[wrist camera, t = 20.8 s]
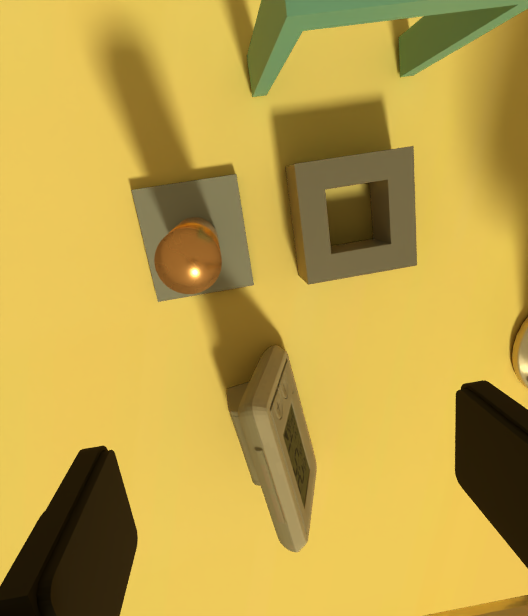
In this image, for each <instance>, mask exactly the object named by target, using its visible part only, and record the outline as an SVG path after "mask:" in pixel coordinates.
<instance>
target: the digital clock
mask: <svg viewBox="0 0 528 616" xmlns="http://www.w3.org/2000/svg"><path fill="white" fill-rule="evenodd" d="M227 401H228V409H229V412H230V415H231V418H232V421H233V424H234V427H235V430H236V433H237V436H238V439H239V442H240V445H241V448H242V451H243V454H244V457H245V460H246V463H247V466H248V469H249V472H250V475H251V478H252V481H253V483H254V484H255V485H259V486H261V488H262V491H263V494H264V497H265V500H266V503H267V506H268V509H269V512H270V515H271V518H272V521H273V524H274V527H275V530H276V533H277V536H278V539H279V541H280V543H281V544H282V545H283V546H284V547H285V548H287V549H288V550H290V551H292V552H299V551H300V550H301V549H302V548H303V547H304V546H305V544H306V543H307V541H308V535H309V528H310V520H311V511H312V503H313V495H314V487H315V478H316V459H315V455H314V451H313V447H312V444H311V440H310V436H309V432H308V429H307V425H306V421H305V417H304V414H303V410H302V406H301V402H300V398H299V395H298V391H297V387H296V383H295V380H294V376H293V372H292V368H291V365H290V361H289V357H288V354H287V352H286V351H285V350H284V349H282V348H280V347H279V346H277V345H274V346H271V347H269V348H268V349H267V350H266V351H265V352H264V353H263V354H262V356H261V358H260V360H259V362H258V364H257V367H256V369H255V371H254V373H253V375H252V377H251V380H250V382H247V383H244V384H241V385H237V386H234V387H231V388H228V389H227Z"/></svg>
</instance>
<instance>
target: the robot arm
mask: <svg viewBox="0 0 528 616" xmlns="http://www.w3.org/2000/svg"><path fill="white" fill-rule="evenodd" d="M512 360H513V367H514V371H515V374H516V375H517V377H518V379H519V381H520V382H521V383H522V384H523V385H524V386H525V387H527V388H528V317H527V318H526V320H525V321H524V323H523V324H522V326H521V328H520V330H519V331H518V333H517V336H516V339H515V342H514V346H513V353H512ZM455 474H456V478H457V480H458V482H459V484H460V486H461V487H462V488H463V490H464V491H465V492H466V493H467V494H468V496H469V497H470V498H471V499H472V501H473V502H474V503H475V504H476V505H477V507H478V508H479V509H480V510H481V512H482V513H483V514H484V515H485V517H486V518H487V519H488V520H489V521H490V523H491V524H492V525H493V526H494V528H495V529H496V530H497V531H498V532H499V534H500V535H501V536H502V537H503V539H504V540H505V541H506V542H507V543H508V545H509V546H510V547H511V548H512V550H513V551H514V552H515V553H516V555H517V556H518V557H519V558H520V559H521V561H522V562H523V563H524V564H525V566H526V567H527V568H528V410H527V409H526V408H525V407H523V406H522V405H520V404H519V403H518V402H516V401H515V400H513V399H512V398H510V397H509V396H508V395H506V394H505V393H503V392H502V391H500V390H499V389H498V388H496V387H495V386H493V385H492V384H490V383H489V382H487V381H477V382H472V383H466V384H463V385H462V387H461V390H458V391H457V393H456V432H455ZM136 548H137V529H136V526H135V522H134V519H133V515H132V512H131V508H130V505H129V501H128V498H127V494H126V491H125V487H124V484H123V480H122V477H121V473H120V470H119V466H118V463H117V459H116V456H115V453H114V451H113V450H109V451H108V450H107V448H106V447H105V446H99V447H93V448H87V449H82V450H80V451H79V453H78V455H77V456H76V458H75V460H74V462H73V463H72V465H71V467H70V469H69V470H68V472H67V474H66V476H65V477H64V479H63V481H62V483H61V484H60V486H59V488H58V490H57V491H56V493H55V495H54V497H53V499H52V500H51V502H50V504H49V506H48V507H47V509H46V511H45V512H44V513H43V514H42V515H41V516H40V518H39V520H38V521H37V523H36V525H35V527H34V528H33V530H32V532H31V534H30V535H29V537H28V539H27V541H26V542H25V544H24V546H23V548H22V549H21V551H20V553H19V554H18V556H17V558H16V560H15V561H14V563H13V565H12V567H11V568H10V570H9V572H8V574H7V575H6V577H5V579H4V581H3V582H2V584H1V586H0V616H120V612H121V608H122V604H123V600H124V596H125V592H126V588H127V584H128V580H129V576H130V572H131V568H132V564H133V560H134V556H135V552H136ZM424 616H528V595H525V596H520V597H515V598H510V599H505V600H500V601H495V602H490V603H485V604H480V605H475V606H469V607H464V608H459V609H454V610H449V611H444V612H439V613H434V614H429V615H424Z"/></svg>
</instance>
